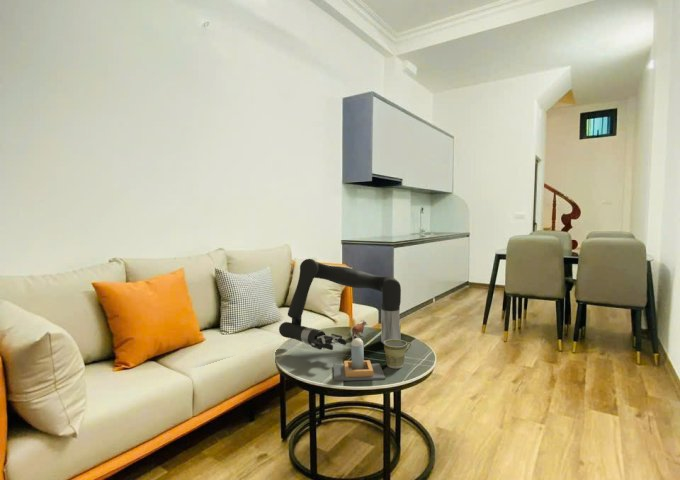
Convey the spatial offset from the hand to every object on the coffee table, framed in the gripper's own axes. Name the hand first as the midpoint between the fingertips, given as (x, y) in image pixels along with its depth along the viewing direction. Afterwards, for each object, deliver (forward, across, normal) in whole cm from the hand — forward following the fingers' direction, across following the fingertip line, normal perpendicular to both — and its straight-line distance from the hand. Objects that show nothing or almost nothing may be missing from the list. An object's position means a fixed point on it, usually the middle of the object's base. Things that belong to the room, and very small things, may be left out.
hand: (339, 344), depth 159 cm
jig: (+10, 0, +9) cm, 14 cm away
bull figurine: (-18, +36, +10) cm, 42 cm away
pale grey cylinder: (+10, 0, +8) cm, 13 cm away
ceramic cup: (+18, +18, +10) cm, 27 cm away
